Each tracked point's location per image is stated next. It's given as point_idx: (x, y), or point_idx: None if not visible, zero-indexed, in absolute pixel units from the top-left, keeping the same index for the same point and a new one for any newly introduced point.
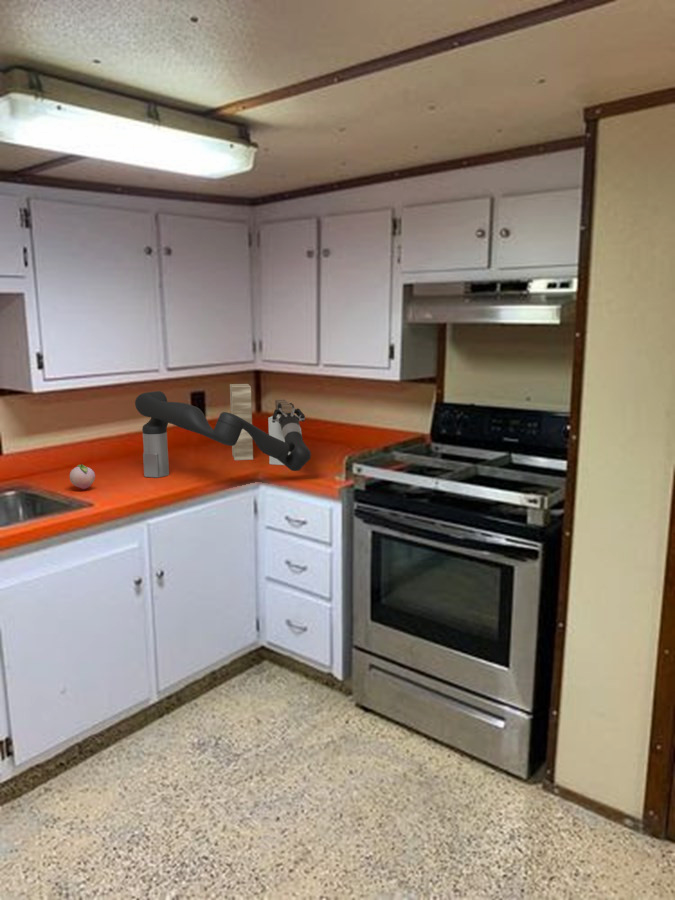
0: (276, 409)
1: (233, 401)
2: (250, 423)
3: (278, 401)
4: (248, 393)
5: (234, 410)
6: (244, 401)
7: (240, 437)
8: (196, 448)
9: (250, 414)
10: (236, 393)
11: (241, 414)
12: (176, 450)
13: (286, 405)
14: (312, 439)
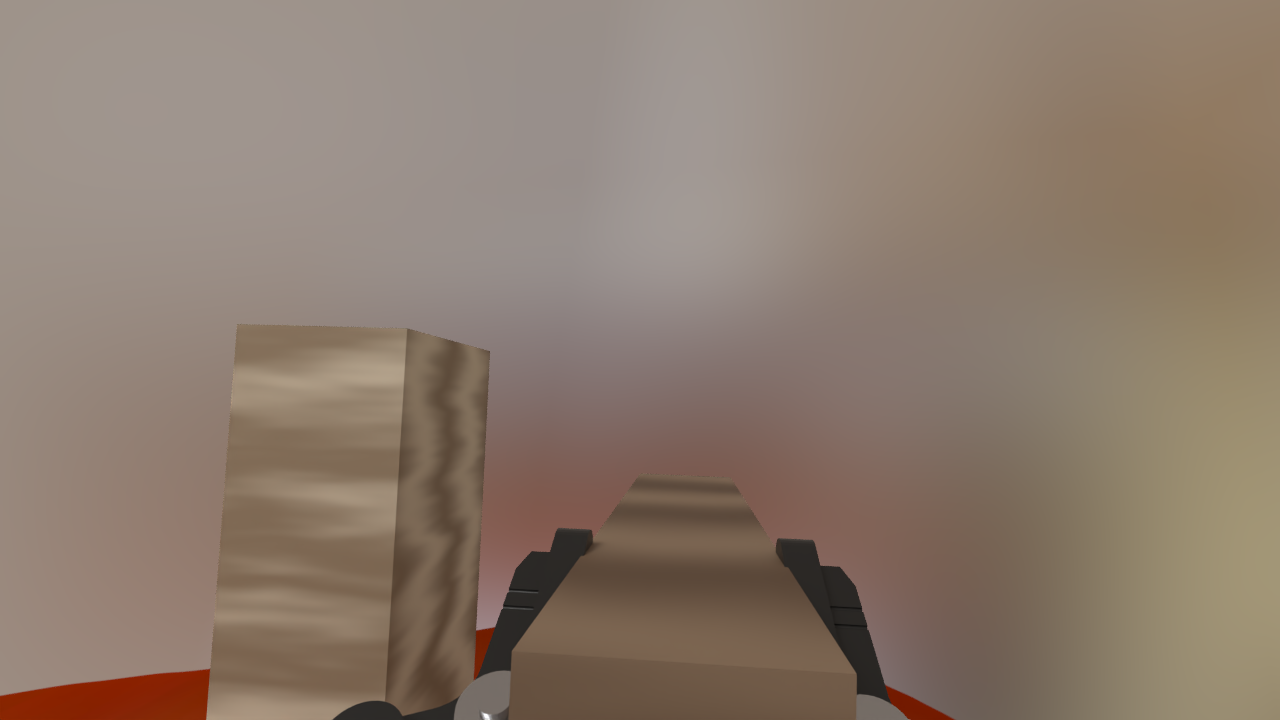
0: (386, 710)
1: (235, 459)
2: (370, 697)
3: (638, 493)
4: (379, 392)
5: (233, 548)
6: (333, 467)
7: None
8: None
9: (379, 603)
10: (269, 385)
11: (294, 595)
12: (173, 713)
13: (655, 639)
14: (901, 708)
